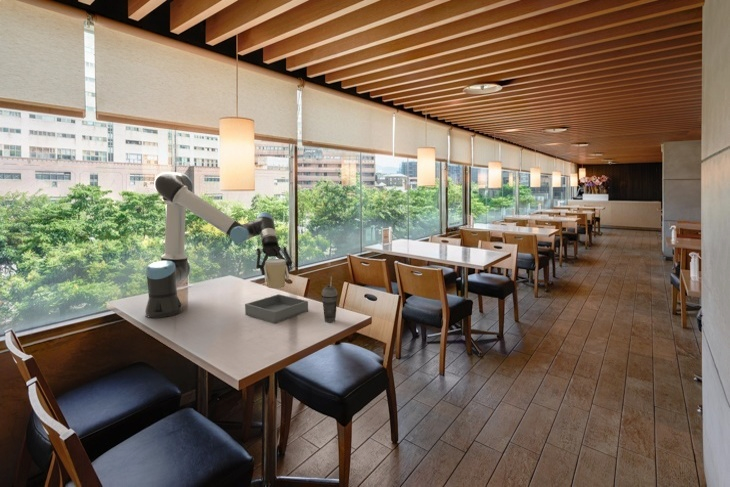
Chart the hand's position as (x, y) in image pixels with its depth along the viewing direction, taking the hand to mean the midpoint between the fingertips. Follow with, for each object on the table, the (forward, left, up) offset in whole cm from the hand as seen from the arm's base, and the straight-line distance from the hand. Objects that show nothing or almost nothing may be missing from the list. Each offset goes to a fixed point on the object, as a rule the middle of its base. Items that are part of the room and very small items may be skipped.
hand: (277, 279), depth 169 cm
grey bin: (+2, +3, -17) cm, 17 cm away
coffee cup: (+2, +3, -4) cm, 5 cm away
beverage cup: (+8, -24, -17) cm, 31 cm away
